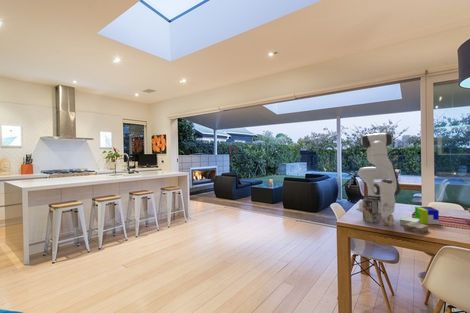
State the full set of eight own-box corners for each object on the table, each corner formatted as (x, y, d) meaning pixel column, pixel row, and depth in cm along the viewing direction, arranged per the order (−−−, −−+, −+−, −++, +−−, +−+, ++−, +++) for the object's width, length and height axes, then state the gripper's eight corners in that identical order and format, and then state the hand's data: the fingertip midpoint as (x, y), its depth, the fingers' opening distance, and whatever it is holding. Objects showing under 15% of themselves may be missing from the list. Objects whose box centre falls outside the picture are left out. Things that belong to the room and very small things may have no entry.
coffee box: (379, 222, 177) (378, 201, 177) (372, 223, 175) (372, 201, 175) (368, 218, 186) (368, 198, 186) (362, 219, 184) (362, 199, 184)
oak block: (382, 224, 172) (382, 215, 172) (386, 223, 174) (385, 213, 174) (389, 226, 168) (389, 216, 167) (393, 224, 170) (393, 215, 170)
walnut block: (403, 230, 160) (403, 224, 160) (410, 227, 165) (410, 221, 165) (421, 234, 151) (421, 228, 151) (428, 231, 156) (427, 225, 156)
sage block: (399, 224, 171) (399, 219, 171) (403, 221, 177) (403, 216, 177) (416, 228, 163) (416, 222, 163) (419, 224, 170) (419, 219, 170)
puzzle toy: (438, 224, 168) (438, 210, 168) (422, 223, 170) (422, 210, 170) (430, 219, 178) (429, 206, 178) (415, 219, 180) (415, 206, 180)
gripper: (388, 205, 161) (389, 225, 161) (396, 200, 175) (396, 218, 176) (378, 204, 166) (378, 223, 166) (386, 199, 180) (386, 217, 180)
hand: (387, 221), depth 171 cm, fingers closed on oak block, 5 cm apart
